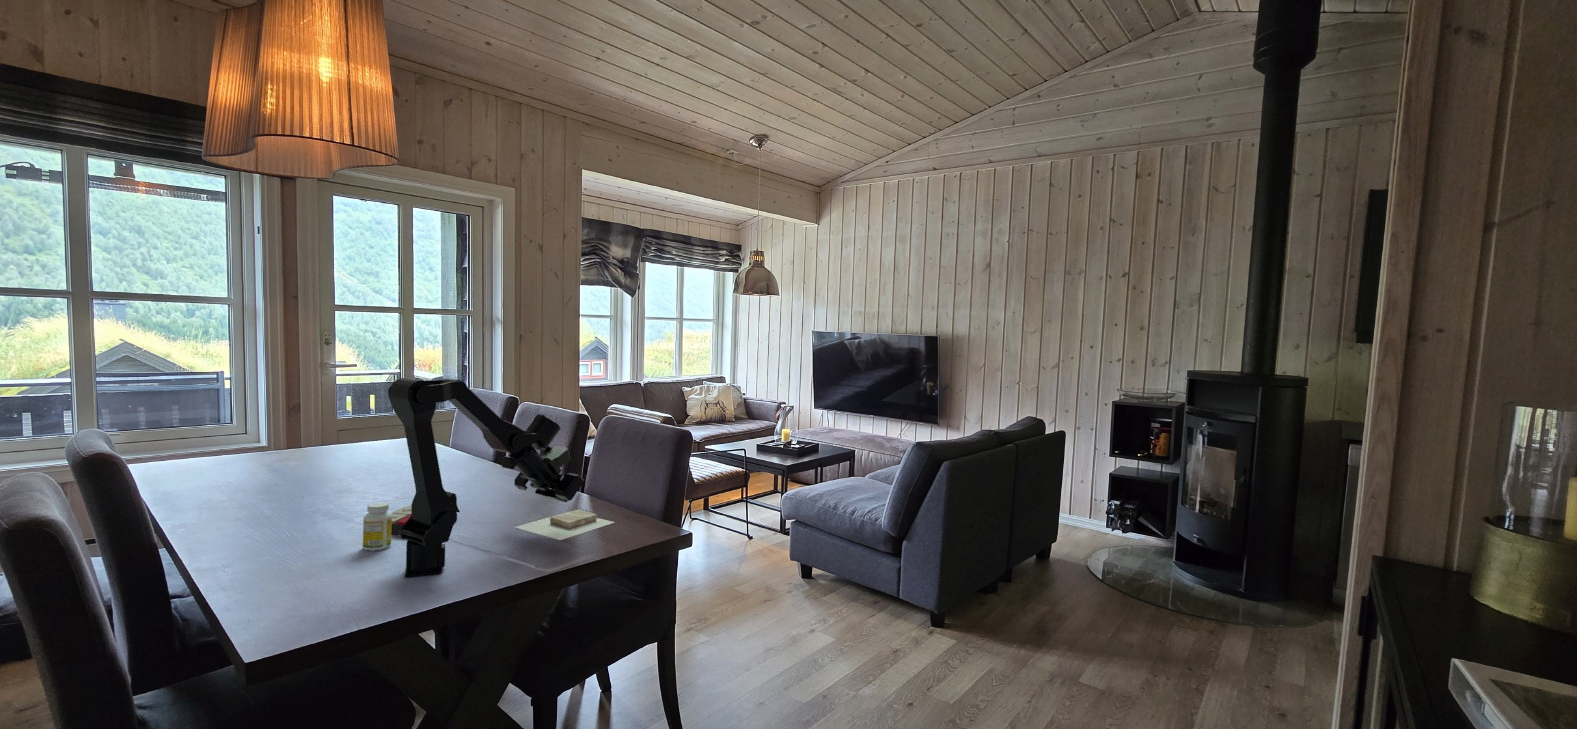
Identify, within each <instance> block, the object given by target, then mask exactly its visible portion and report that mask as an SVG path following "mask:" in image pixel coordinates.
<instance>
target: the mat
mask: <svg viewBox="0 0 1577 729" xmlns="http://www.w3.org/2000/svg"><path fill="white" fill-rule="evenodd" d="M569 512H571V511H569ZM564 513H565V512H564ZM564 513H562V514H564ZM557 515H558V514H556V515H555V516H557ZM553 516H554V515H553ZM553 516H550V517H553ZM550 517H546V518H542V519H539V520H534V521H532V522H528V523H524V524H521V525H518V526H514V528H515V529H518V530H522V531H525V532H528V533H529V532H530V533H533V534H536V535H540V536H542V537H543V536H544V537H547V538H550V539H555V540H558V541H562V540H565V539H568V538H572V537H575V536H579V535H581V534H584V533H587V532H590V531H593V530H596V529H599V528H602V527H606V526H608V525H612V524H615V521H612V520H606V519H602V518H598V517H597V520H596V521H594V522H591V523H588V524H584V525H581V526H578V527H575V528H572V529H568V528H564V527H560V526H557V525H553V524H551V523H550Z"/></svg>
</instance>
